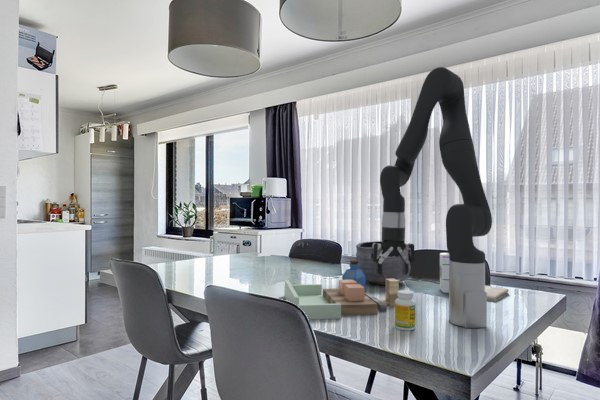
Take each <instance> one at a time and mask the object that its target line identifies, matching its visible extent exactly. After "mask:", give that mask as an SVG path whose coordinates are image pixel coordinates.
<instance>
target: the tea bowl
mask: <svg viewBox="0 0 600 400" xmlns="http://www.w3.org/2000/svg"><path fill="white" fill-rule="evenodd" d="M381 242H382V240H381V241H380V240H376V241H364V242H359V243H358V244H356V245H355V248H356V253H355V257H356V259H355V260H358V264H359V267H358V269H361V270H362V271H363V273H364V274H365V276H366V281H370V283H372V284H376V285H382V286H386V279H396V280H398V281H399V283H400V282H403V281H405V280H407V279H408V278H409V275H410V273H411V262H410V263H409V271H408V273H407V275H403V274H402V265H403V263H404V262H403V260H402V259H401V258H400V257H399V256H398V257H395V256H392V257H389V256H387V257H386V259H384V260H383V262H382V263H381V264H382V275H379V274H378V273H377V271H376V262H374V261H372V260H371V251H372V243H376V244H381ZM405 244H407V243H405ZM382 251H383V250H382V249H381V247H380V248H379V250H377V258H378V257H379V255H380V253H381V252H382ZM403 252H404V254H405V255H406V257H407V258H408V250H407V248H405V249H404V251H403Z"/></svg>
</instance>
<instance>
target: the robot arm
mask: <svg viewBox="0 0 600 400" xmlns="http://www.w3.org/2000/svg"><path fill="white" fill-rule="evenodd" d="M421 86H422V87H421V90H420V92H419V95H418V98H417V101H416V104H415V106H414V107H415V108H414V110H413V113H412V116H411V118H410V121H409V123H408V126H407V127H406V129H405V131H404V132H405V133H404V134H403V136H402V139H401V140H400V142H399V144H398V146H397V147H396V151H395V153H394V154H395V156H396V160H395V163H394V164H389V165H388V164H387V165H386V166H384V168H382V170H381V172H380V175H379V177H380V178H379V183H380V190H381V195H382V199H383V202H382V219H381V241H382V242H381V244H376V243H372V251H371V260H372V261H374V262H376V271H377V273H378V274H379V275H382V264H381V263H382V262H383V260H384V259H386V257H387V256H389V257H392V256H395V257H398V256H399V257H400V258H401V259H402V260H403V262H404V263H403V265H402V274H403V275H407V273H408V271H409V263H410V264H411V263H413V262H414V263H415V260H416V259H415V244H413V243H412V242H408V243H406V244H405V241H406V240H405V239H406V214H405V212H406V211H405V210H406V209H405V208H406V200H405V196H404V195H403V194H402V193H401V187H403V186H405V185H406V184H407V182H409V180H410V178H411V176H412V173H413V170H414V167H415V163H416V160H417V159H418V156H419V155H420V152H421V150H422V149H423V147H424V145H425V143H426V141H427V137H428V134H429V133H428V132H429V127H430V125H429V124H430V120H431V117H432V114H433V111H434V109H435V106H436V105H437V104H438V105H439V108H440V112H441V116H442V125H441V130H440V135H439V138H438V143H439V144H438V145H439V146H438V147H439V152H440V157H441V162H442V165H443V167H444V169H445V170H446V172H447V173H448V175H449V177H450V178H451V179H452V180H453V183H455V184H456V186H457V188H458V189H459V192H460V194H461V197H462V201H463V203H456V204H453V205H451V206H450V207H449V208H448V210H447V213H446V216H445V217H446V218H445V239H446V249H447V253H449V293H448V322H449V323H451V324H452V325H456V326H459V327H462V328H465V329H470V328H471V329H472V328H473V329H474V328H475V329H477V328H487V327H488V326H487V324H488V323H487V318H488V317H487V316H488V315H487V311H488V310H487V309H488V308H487V307H488V303H487V302H488V301H487V293H486V292H485V285H486V253H485V251H483V250H481V249H479V248H477V247H476V246H475V244H474V240H473V238H474V237H483V236H484V237H485V236H487V235H488V234H489V233H490V231H491V229H492V226H493V225H492V224H493V217H492V212H491V208H490V206H489V201H488V199H487V196H486V193H485V189H484V188H483V183H482V180H481V175H480V170H479V166H478V163H477V156H476V152H475V151H476V150H475V146H474V142H473V141H474V140H473V138H472V132H471V128H470V124H469V120H468V115H467V109H466V99H465V87H464V82H463V80H462V78H461V77H460V76H459V75H458V74H456V73H455V72H453V71H451V70H450V69H448V68H446V67H442V66H439V67H435V68H433V69H432V70H430V71H429V73H428V74H427V76H426V77H425V79H424V81H423V83H422V85H421ZM380 247H381V249H382V250H383V251H382V252H381V253H380V255H379V257H378V258H377V250H379V248H380ZM405 248H407V250H408V258H407V257H406V255H405V254H404V252H403V251H404V249H405Z"/></svg>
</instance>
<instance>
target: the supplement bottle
mask: <svg viewBox="0 0 600 400" xmlns="http://www.w3.org/2000/svg"><path fill="white" fill-rule="evenodd" d="M397 296H398V297H399V298H397V299H396V300H395V306H394V326H395V328H396V329H397V330H400V331H413V330H415V329H416V308H417V307H416V301H415V300H414V299H413V298H414V292H413V291H412V290H406V289H405V290H404V289H403V290H400V289H399V291H398V293H397Z"/></svg>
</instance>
